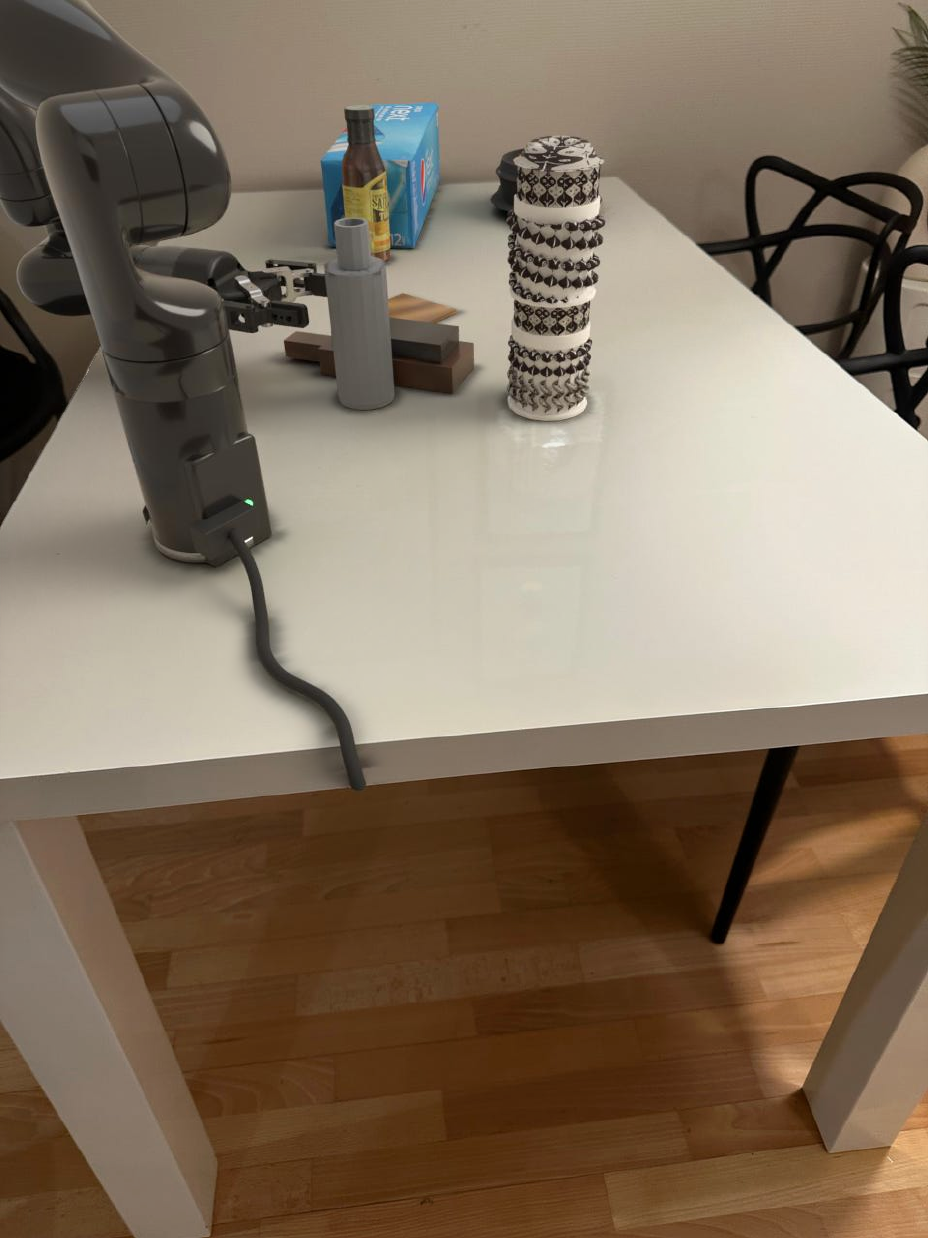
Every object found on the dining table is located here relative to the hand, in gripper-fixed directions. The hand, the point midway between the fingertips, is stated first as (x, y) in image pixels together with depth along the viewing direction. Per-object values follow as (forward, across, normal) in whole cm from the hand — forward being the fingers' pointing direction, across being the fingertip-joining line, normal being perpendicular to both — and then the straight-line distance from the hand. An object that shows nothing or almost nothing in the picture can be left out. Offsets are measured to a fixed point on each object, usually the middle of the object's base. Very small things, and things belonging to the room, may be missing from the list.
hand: (326, 301), depth 91 cm
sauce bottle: (-15, +42, +10) cm, 46 cm away
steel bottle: (+4, 0, +10) cm, 11 cm away
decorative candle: (+22, +5, +10) cm, 25 cm away
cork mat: (-2, +23, +10) cm, 25 cm away
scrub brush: (+1, +7, +10) cm, 12 cm away
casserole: (+3, +74, +10) cm, 75 cm away
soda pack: (-22, +66, +10) cm, 70 cm away
